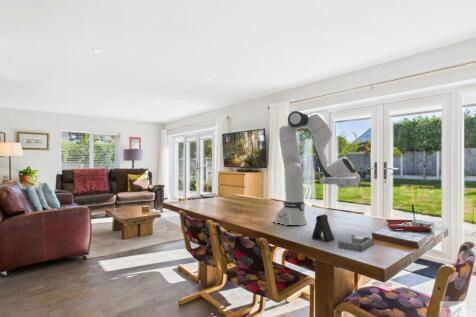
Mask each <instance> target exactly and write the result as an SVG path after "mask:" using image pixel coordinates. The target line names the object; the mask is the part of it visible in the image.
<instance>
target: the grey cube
mask: <svg viewBox="0 0 476 317" xmlns="http://www.w3.org/2000/svg"><path fill="white" fill-rule="evenodd" d="M365 237H366V236H362V237H361V235H355V236H354V237H352V236H351V243H353V244H358V245H360V244H362V243H363V242H365Z"/></svg>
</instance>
